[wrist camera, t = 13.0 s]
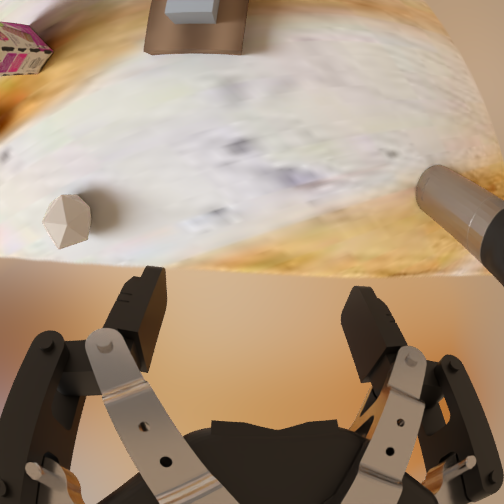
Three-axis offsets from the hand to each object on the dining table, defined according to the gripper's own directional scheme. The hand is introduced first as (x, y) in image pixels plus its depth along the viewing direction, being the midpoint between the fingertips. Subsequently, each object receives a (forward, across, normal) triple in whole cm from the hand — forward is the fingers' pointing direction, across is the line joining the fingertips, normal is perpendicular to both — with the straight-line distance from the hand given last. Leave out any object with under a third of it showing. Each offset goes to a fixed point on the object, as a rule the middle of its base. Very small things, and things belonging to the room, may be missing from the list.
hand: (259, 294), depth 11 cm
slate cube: (+25, +9, -20) cm, 33 cm away
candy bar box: (+28, +38, -19) cm, 51 cm away
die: (+29, +27, +10) cm, 41 cm away
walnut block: (+29, +9, -20) cm, 36 cm away
